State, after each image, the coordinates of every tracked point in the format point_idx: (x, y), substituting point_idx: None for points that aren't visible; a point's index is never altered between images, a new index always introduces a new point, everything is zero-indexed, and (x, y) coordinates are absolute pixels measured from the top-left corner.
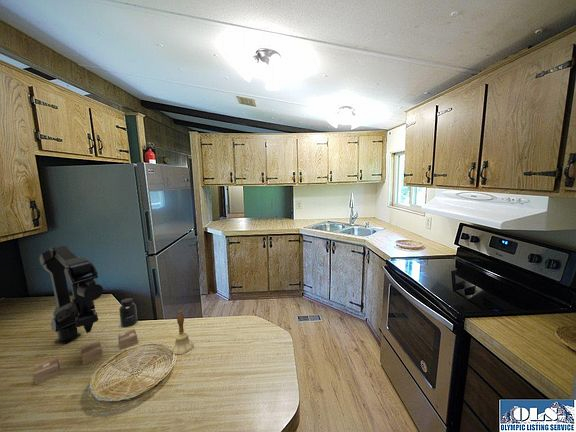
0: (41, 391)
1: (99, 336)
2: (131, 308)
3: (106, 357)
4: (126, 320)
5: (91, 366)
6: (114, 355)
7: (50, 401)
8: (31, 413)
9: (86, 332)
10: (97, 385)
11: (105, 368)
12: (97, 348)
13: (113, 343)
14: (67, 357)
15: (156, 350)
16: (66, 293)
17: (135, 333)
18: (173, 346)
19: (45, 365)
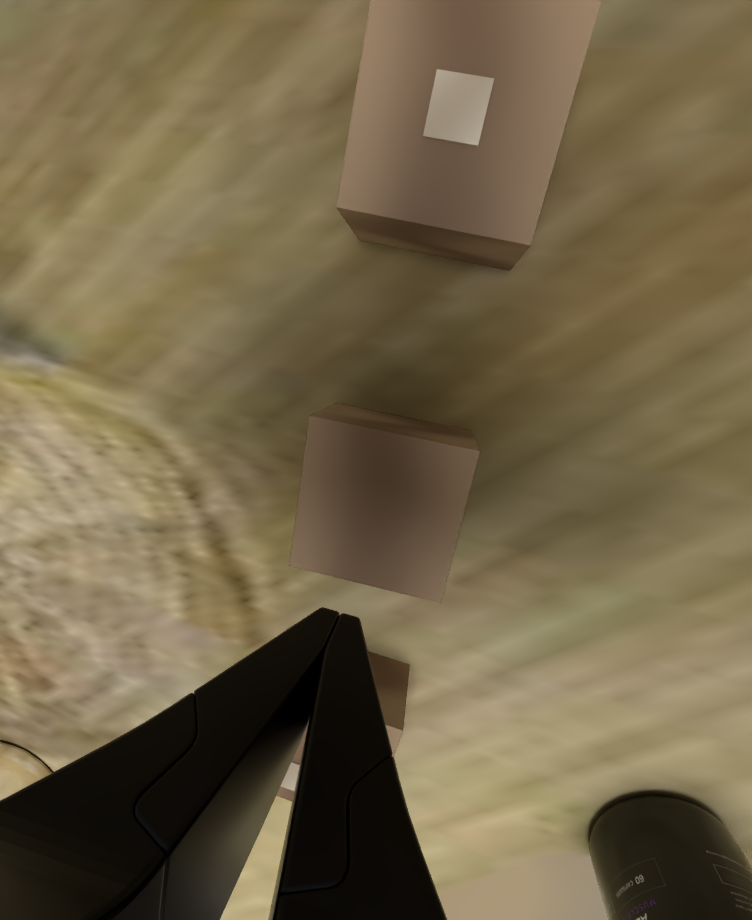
0: (239, 91)
1: (699, 636)
2: None
3: (284, 536)
4: (634, 883)
5: (259, 434)
6: (260, 575)
7: (62, 129)
8: (23, 3)
9: (316, 610)
10: (12, 388)
11: (153, 482)
12: (311, 542)
13: (440, 640)
14: (601, 352)
15: (96, 720)
16: None
17: (279, 791)
18: (25, 781)
19: (451, 97)
